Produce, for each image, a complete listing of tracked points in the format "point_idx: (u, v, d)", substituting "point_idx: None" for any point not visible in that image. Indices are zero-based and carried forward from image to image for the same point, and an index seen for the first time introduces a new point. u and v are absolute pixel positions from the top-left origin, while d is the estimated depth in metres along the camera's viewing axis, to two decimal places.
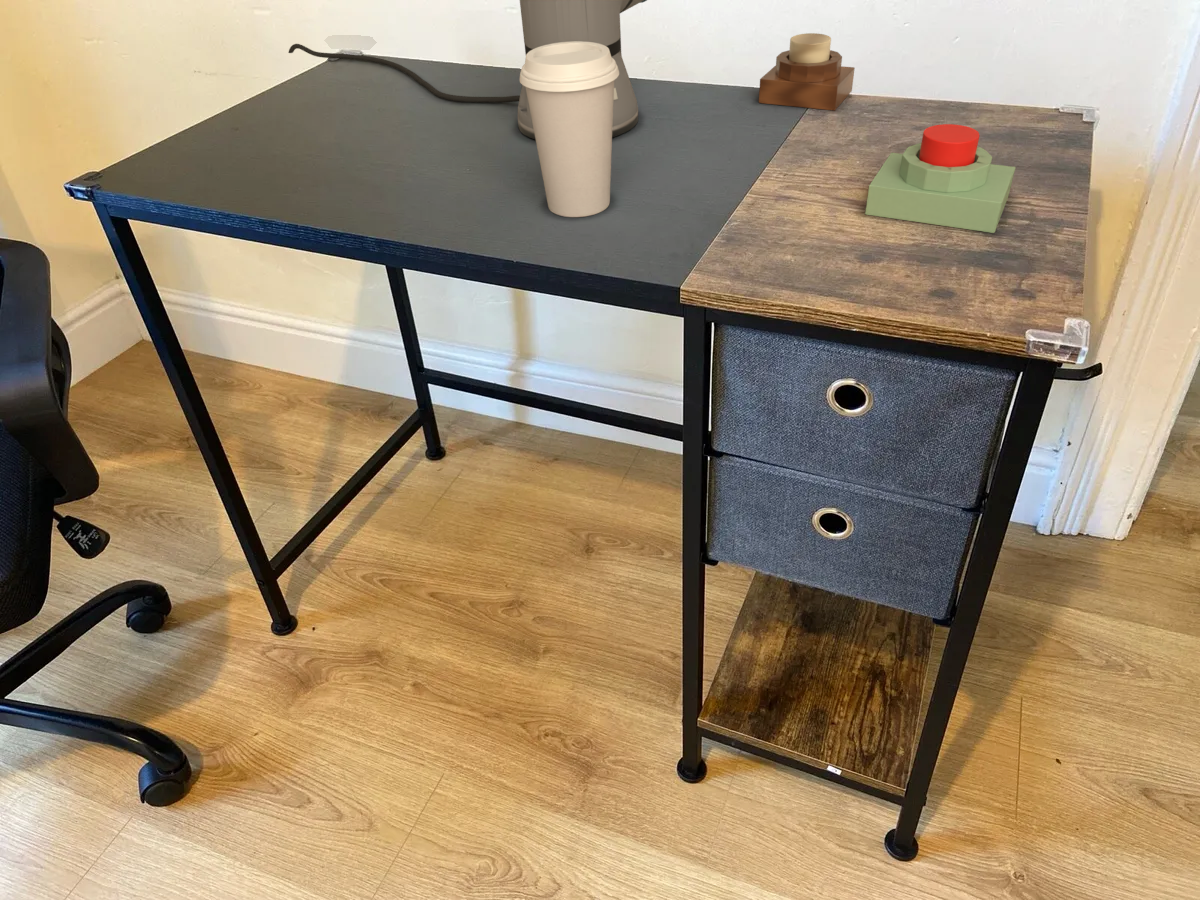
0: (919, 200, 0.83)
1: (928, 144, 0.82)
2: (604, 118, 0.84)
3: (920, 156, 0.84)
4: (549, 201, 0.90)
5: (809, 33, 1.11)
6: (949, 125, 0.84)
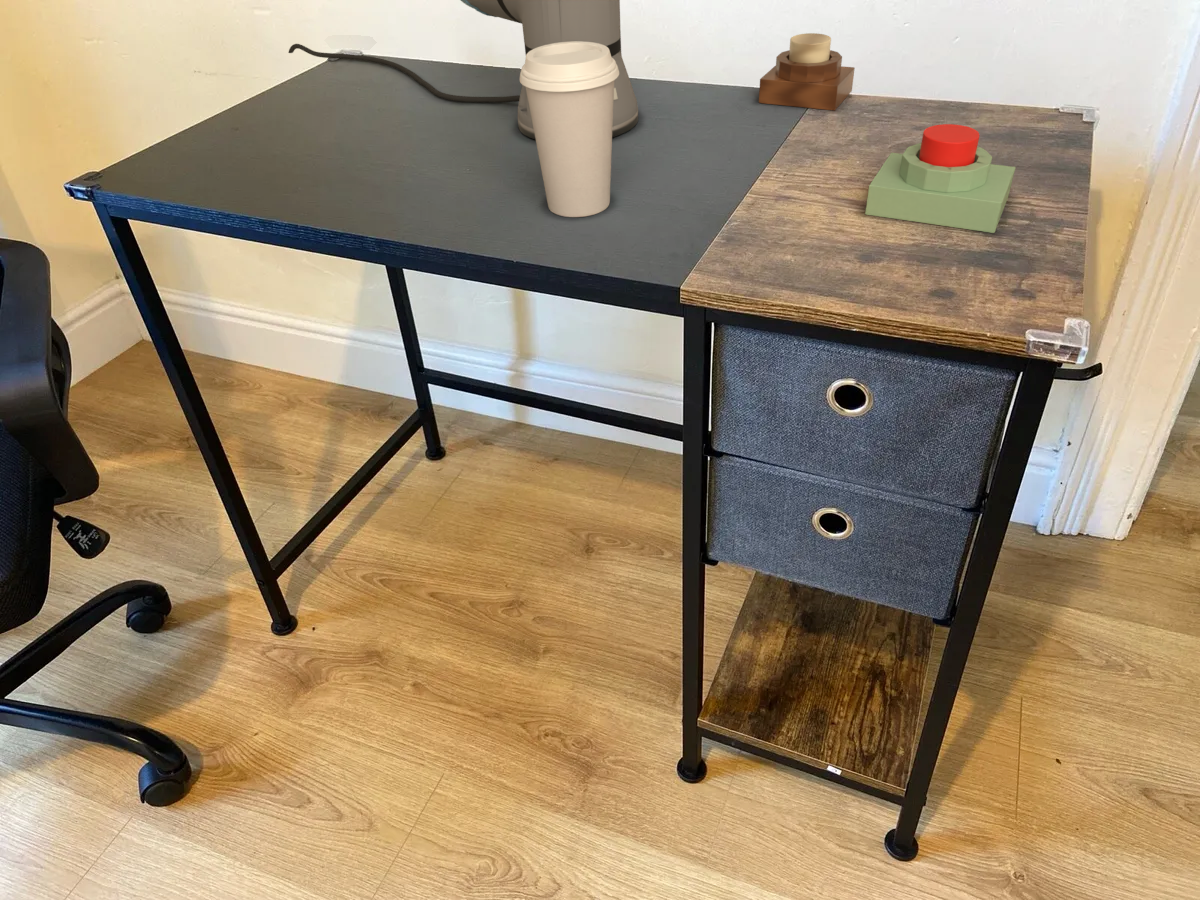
0: (919, 200, 0.83)
1: (928, 144, 0.82)
2: (604, 118, 0.84)
3: (920, 156, 0.84)
4: (549, 201, 0.90)
5: (809, 33, 1.11)
6: (949, 125, 0.84)
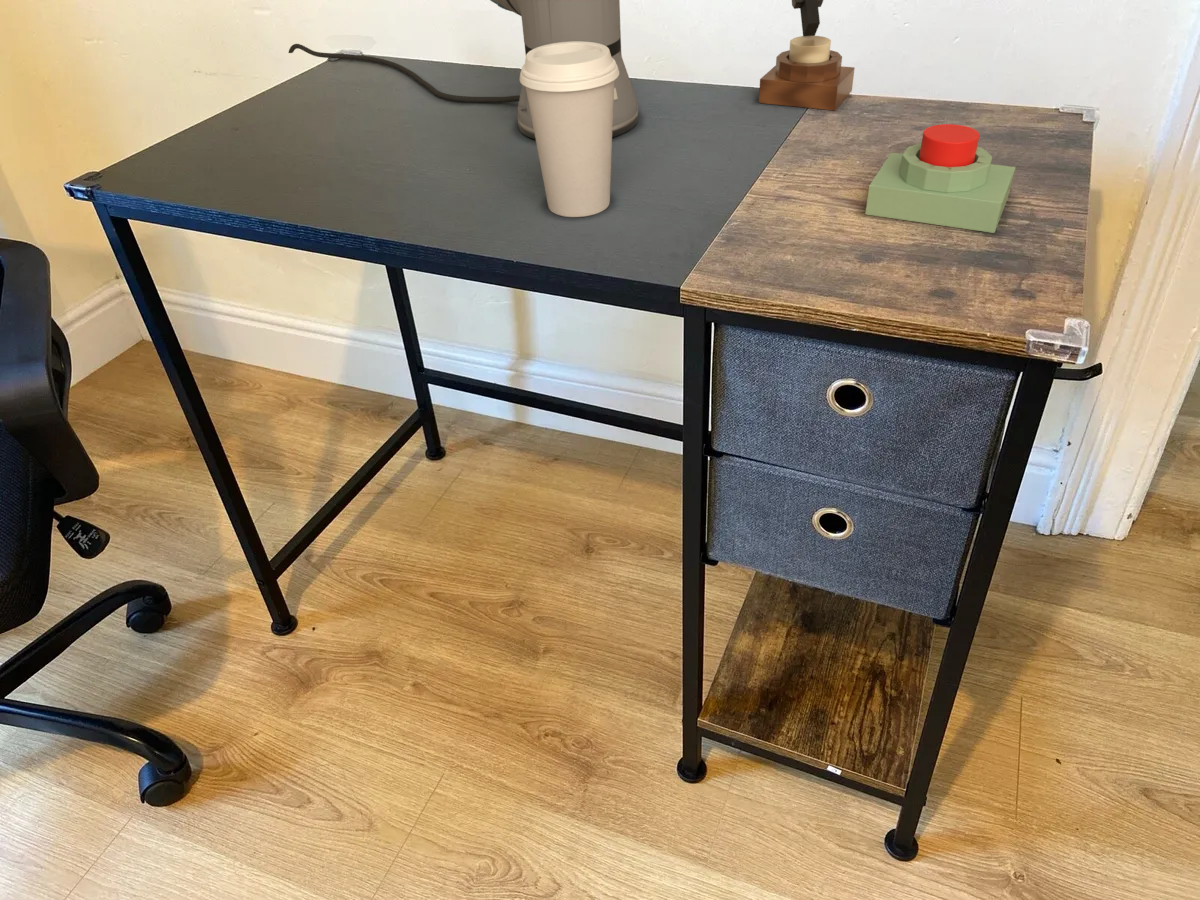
0: (919, 200, 0.83)
1: (928, 144, 0.82)
2: (604, 118, 0.84)
3: (920, 156, 0.84)
4: (549, 201, 0.90)
5: None
6: (949, 125, 0.84)
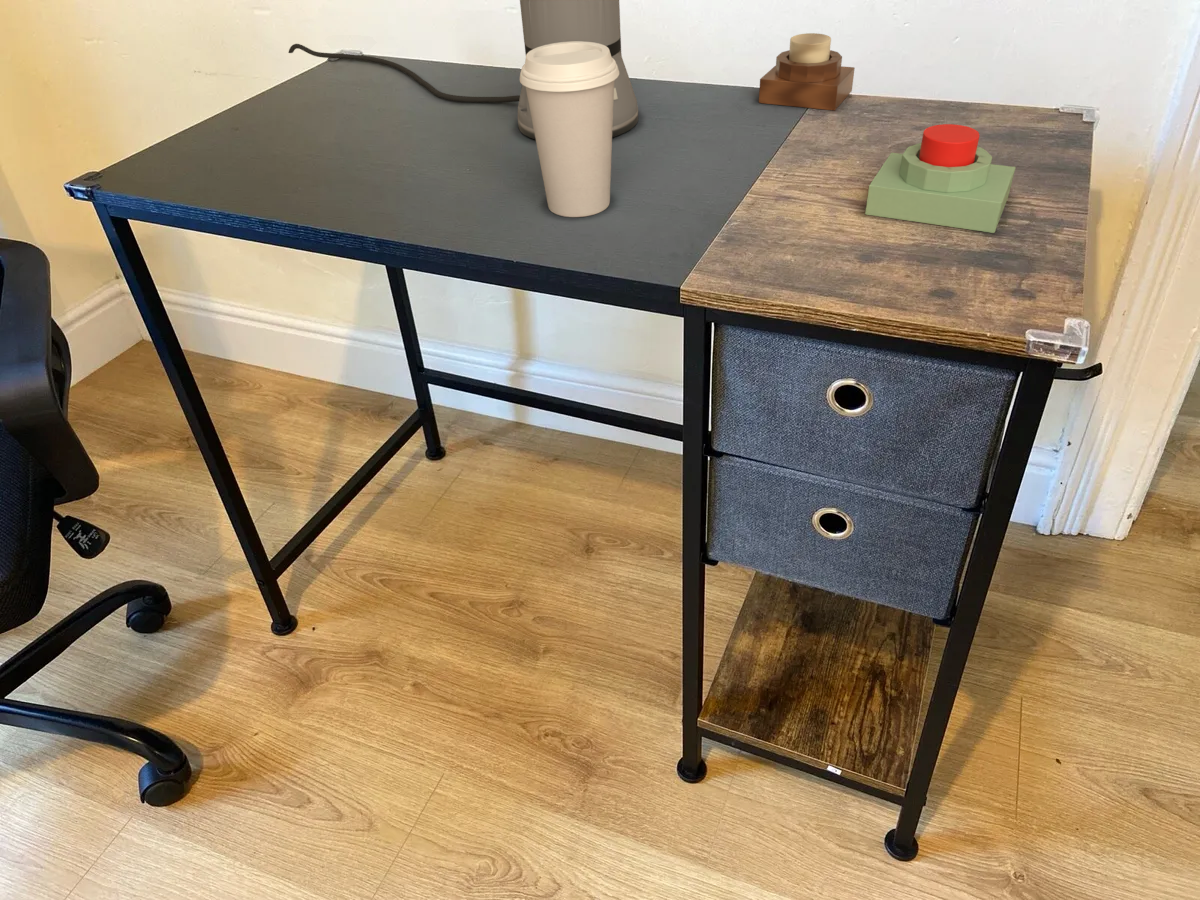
0: (919, 200, 0.83)
1: (928, 144, 0.82)
2: (604, 118, 0.84)
3: (920, 156, 0.84)
4: (549, 201, 0.90)
5: (809, 33, 1.11)
6: (949, 125, 0.84)
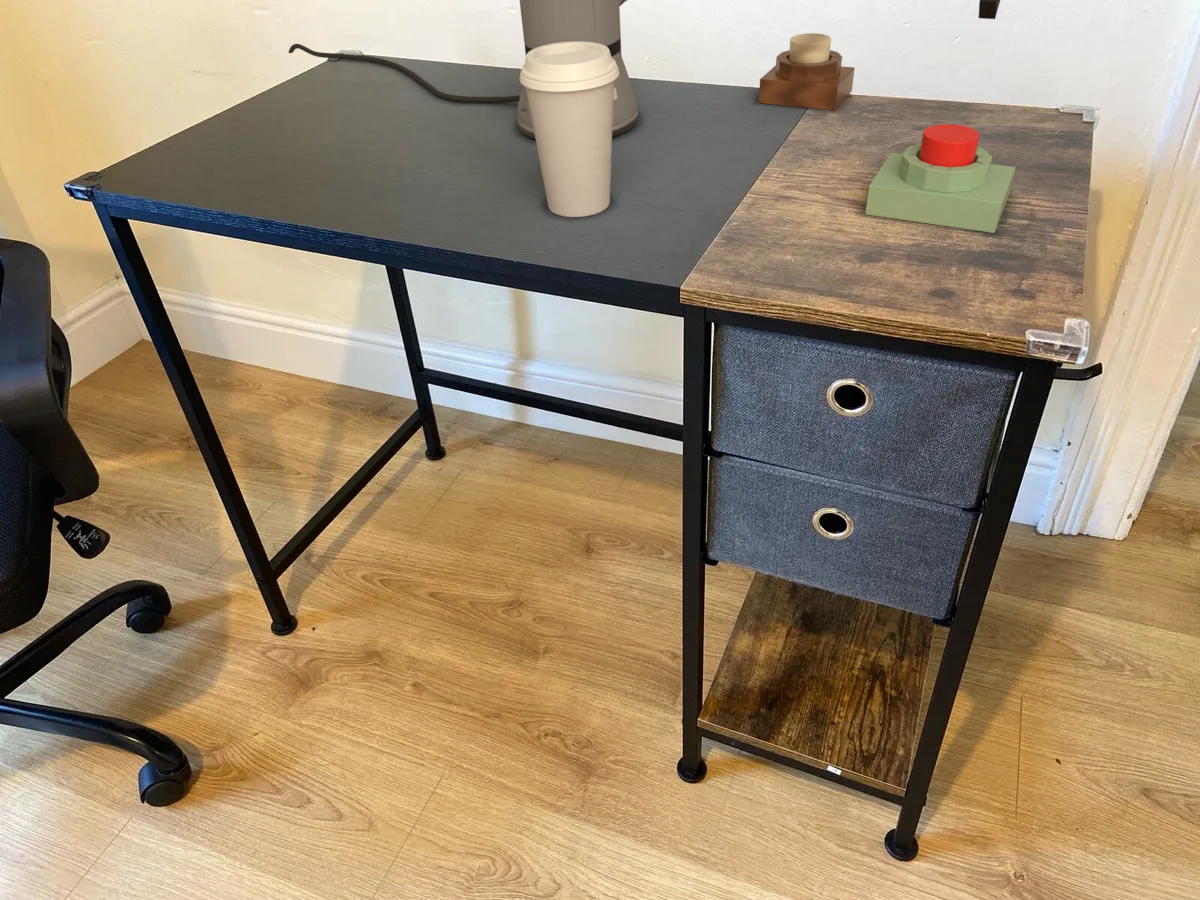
0: (919, 200, 0.83)
1: (928, 144, 0.82)
2: (604, 118, 0.84)
3: (920, 156, 0.84)
4: (549, 201, 0.90)
5: (809, 33, 1.11)
6: (949, 125, 0.84)
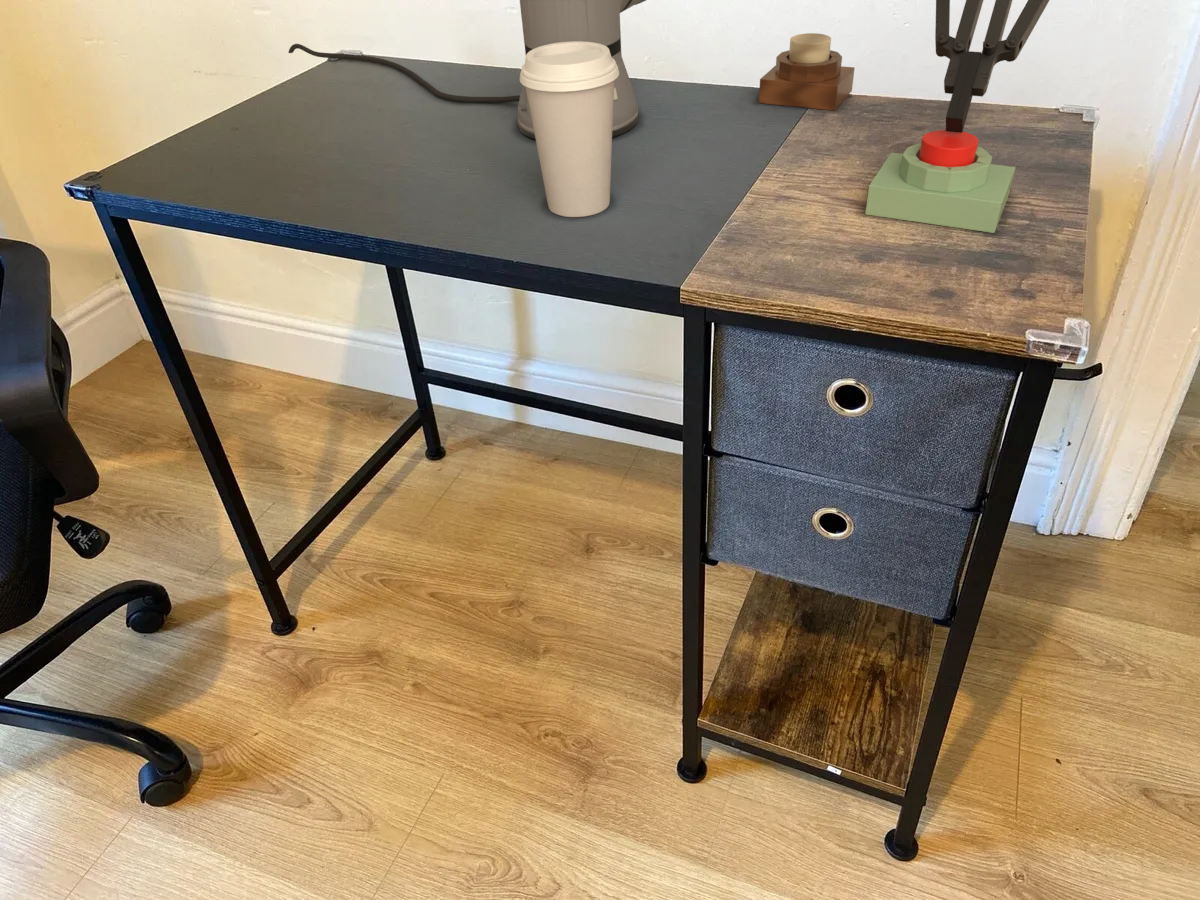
0: (919, 200, 0.83)
1: (926, 150, 0.82)
2: (604, 118, 0.84)
3: None
4: (549, 201, 0.90)
5: (809, 33, 1.11)
6: (948, 131, 0.84)
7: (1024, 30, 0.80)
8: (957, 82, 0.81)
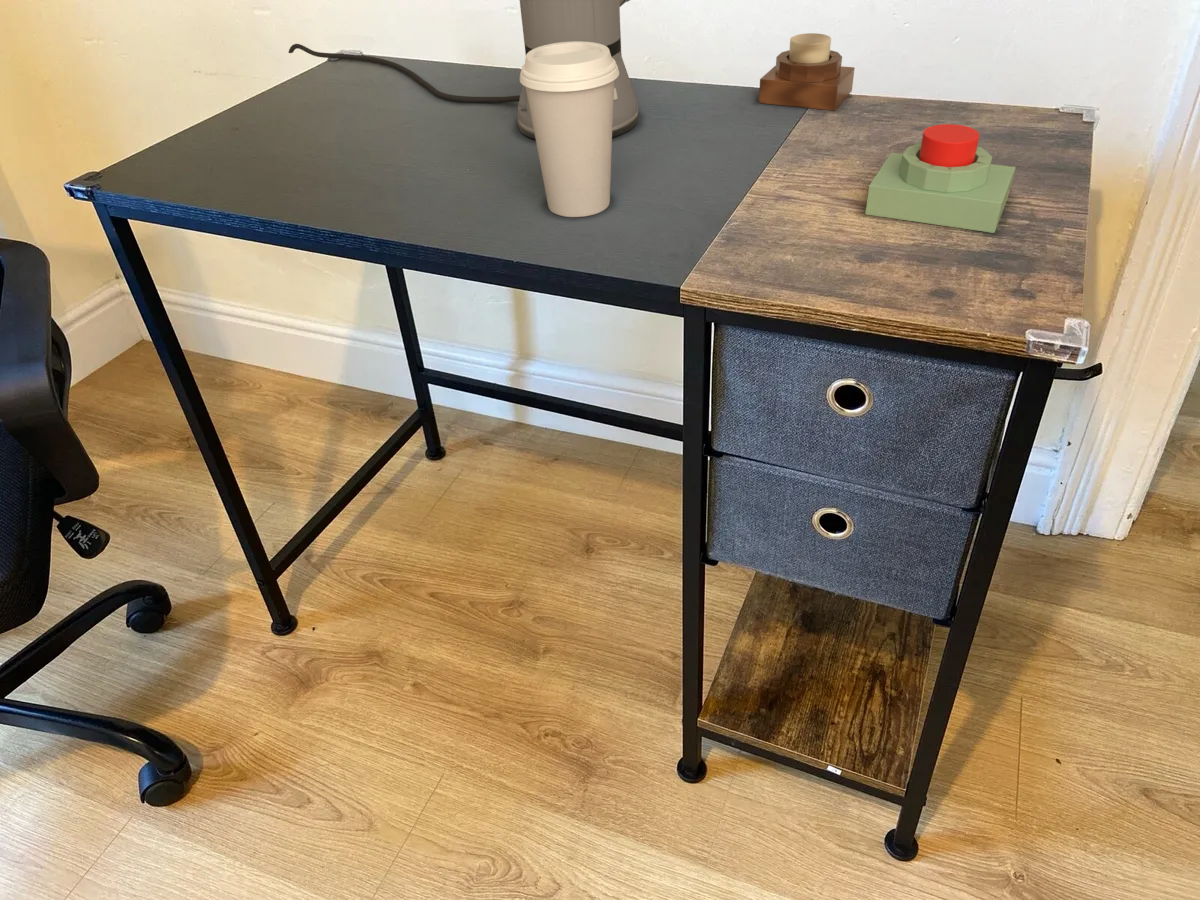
0: (919, 200, 0.83)
1: (928, 144, 0.82)
2: (604, 118, 0.84)
3: (920, 156, 0.84)
4: (549, 201, 0.90)
5: (809, 33, 1.11)
6: (949, 125, 0.84)
7: None
8: None
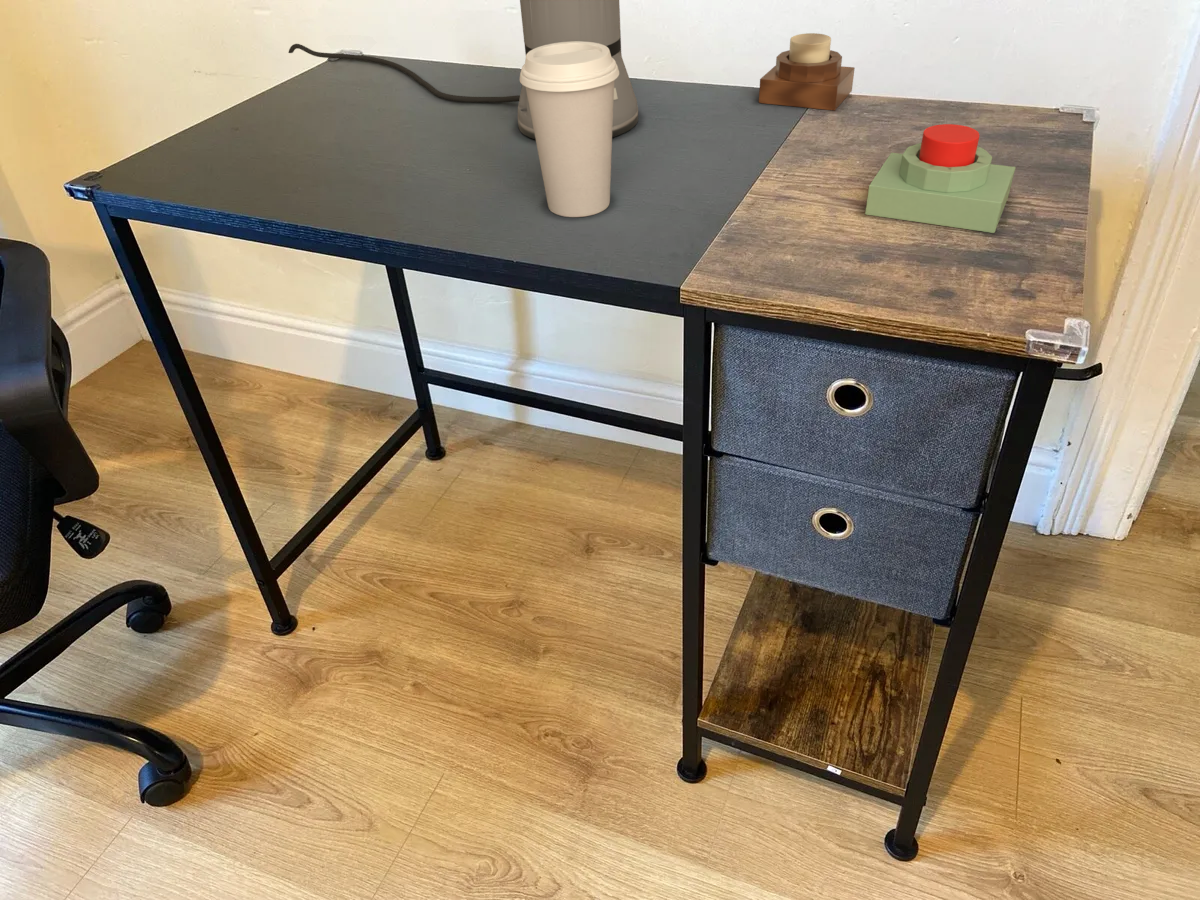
0: (919, 200, 0.83)
1: (928, 144, 0.82)
2: (604, 118, 0.84)
3: (920, 156, 0.84)
4: (549, 201, 0.90)
5: (809, 33, 1.11)
6: (949, 125, 0.84)
7: None
8: None
